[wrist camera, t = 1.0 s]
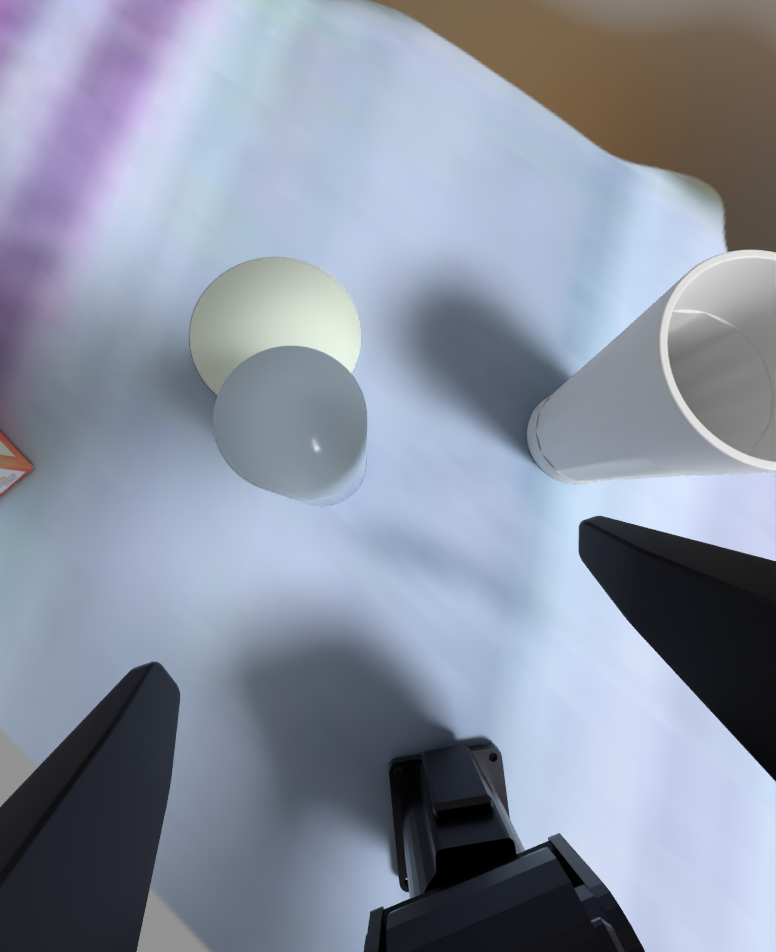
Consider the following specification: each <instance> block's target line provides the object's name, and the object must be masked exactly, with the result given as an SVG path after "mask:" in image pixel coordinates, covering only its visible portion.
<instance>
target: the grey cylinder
mask: <svg viewBox="0 0 776 952" xmlns="http://www.w3.org/2000/svg"><path fill="white" fill-rule="evenodd" d="M213 429H214V435H215V439H216V443H217V445H218V448H219V450H220V453H221V454H222V456H223V458H224V459H225V461H226V462H227V463H228V465H229V466H230V467H231V468H232V469H233V470H234V471H235V472H236V473H237V474H238V475H239V476H240V477H242V478H243V479H244V480H246V481H247V482H249V483H251V484H253V485H255V486H257V487H259V488H262V489H265V490H268V491H271V492H274V493H277V494H280V495H283V496H286V497H289V498H292V499H295V500H298V501H301V502H304V503H307V504H310V505H315V506H329V505H334V504H337V503H340V502H342V501H344V500H345V499H347V498H348V497H350V496H351V495H352V494H353V493H354V492H355V491H356V490H357V489H358V487H359V486H360V484H361V482H362V481H363V478H364V475H365V471H366V458H367V410H366V404H365V400H364V397H363V393H362V391H361V389H360V387H359V385H358V383H357V381H356V380H355V378H354V377H353V375H352V374H351V373H350V372H349V371H348V369H347V368H346V367H344V366H343V365H342V364H341V363H340V362H339V361H337V360H336V359H334V358H333V357H331V356H329V355H328V354H326V353H324V352H321V351H318V350H316V349H312V348H308V347H303V346H279V347H274V348H270V349H266V350H264V351H261V352H258V353H256V354H254V355H253V356H251V357H249V358H247V359H246V360H245V361H243V362H242V363H240V364H239V365H238V366H237V367H236V368H235V369H234V370H233V371H232V372H231V373H230V375H229V376H228V377H227V378H226V380H225V382H224V383H223V385H222V386H221V389H220V391H219V393H218V395H217V398H216V402H215V406H214V412H213Z"/></svg>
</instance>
